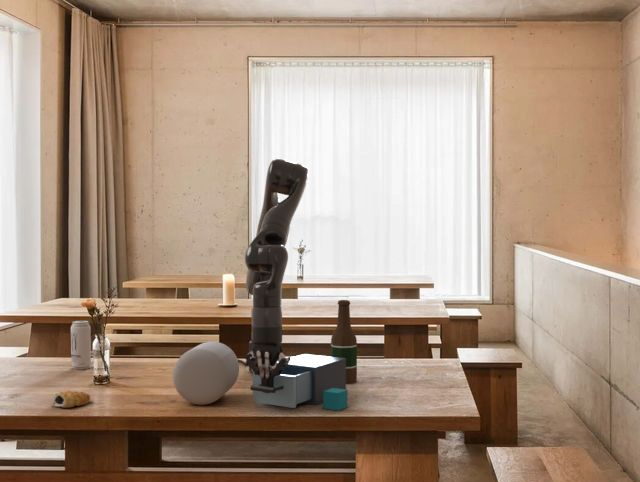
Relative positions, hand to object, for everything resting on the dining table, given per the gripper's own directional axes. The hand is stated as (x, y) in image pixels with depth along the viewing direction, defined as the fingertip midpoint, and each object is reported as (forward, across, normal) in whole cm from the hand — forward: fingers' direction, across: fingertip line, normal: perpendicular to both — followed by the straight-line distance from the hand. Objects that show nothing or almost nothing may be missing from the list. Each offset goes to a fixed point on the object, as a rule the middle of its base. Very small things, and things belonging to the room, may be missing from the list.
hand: (267, 392), depth 207 cm
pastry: (+5, +47, +22) cm, 52 cm away
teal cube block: (+5, -13, -12) cm, 18 cm away
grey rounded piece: (+5, +24, -4) cm, 25 cm away
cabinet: (+5, 0, -20) cm, 20 cm away
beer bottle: (+5, +2, -42) cm, 42 cm away
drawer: (+4, 0, -7) cm, 8 cm away
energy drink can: (+5, +84, -16) cm, 86 cm away
